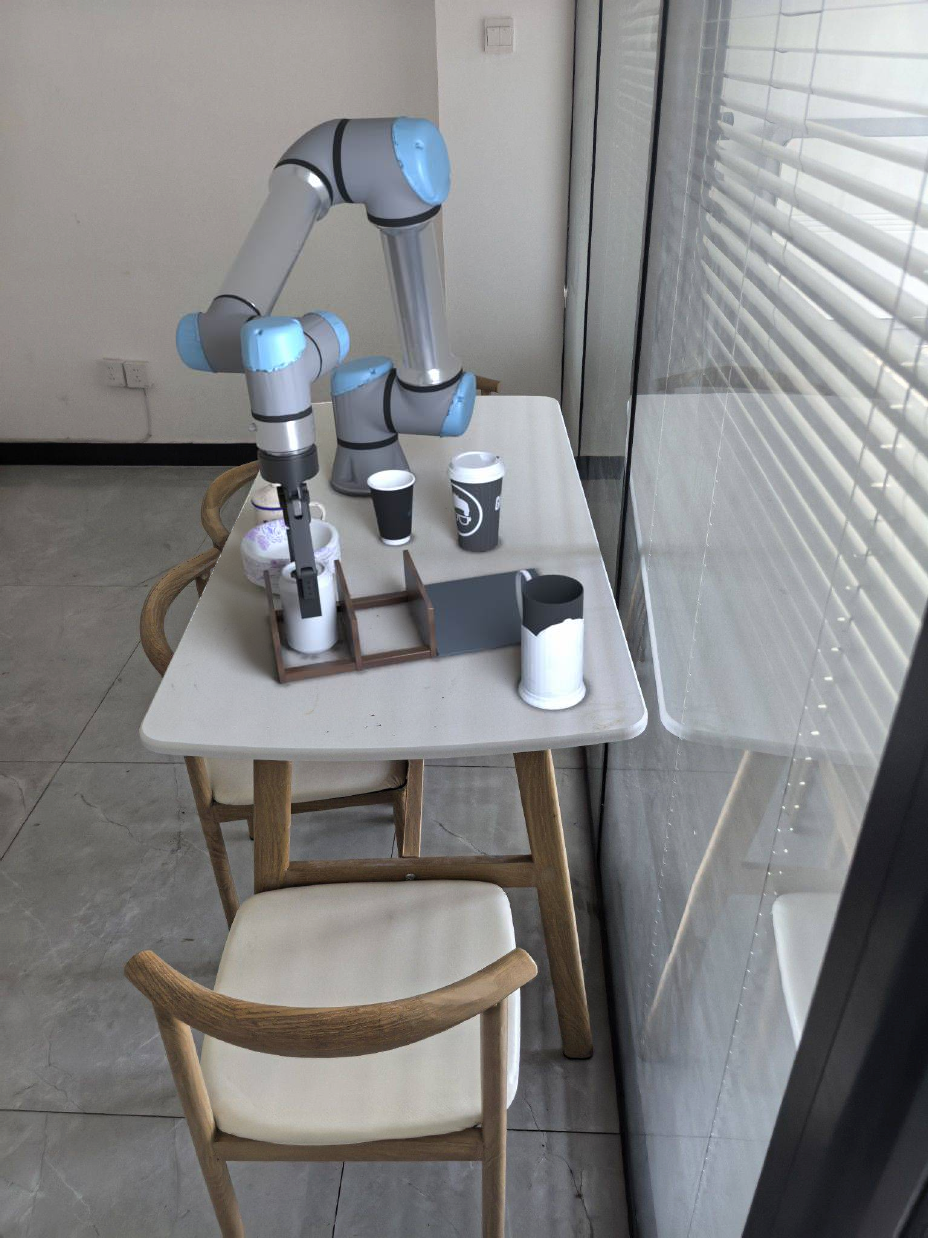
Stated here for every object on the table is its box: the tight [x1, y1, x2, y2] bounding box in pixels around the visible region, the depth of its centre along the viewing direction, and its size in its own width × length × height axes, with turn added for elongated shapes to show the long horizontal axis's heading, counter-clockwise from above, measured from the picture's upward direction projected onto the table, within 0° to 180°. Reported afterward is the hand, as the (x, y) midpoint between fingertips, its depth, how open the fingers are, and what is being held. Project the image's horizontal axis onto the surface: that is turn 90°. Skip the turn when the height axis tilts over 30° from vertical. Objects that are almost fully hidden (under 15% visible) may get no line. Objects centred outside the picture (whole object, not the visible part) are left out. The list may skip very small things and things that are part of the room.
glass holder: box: [516, 569, 587, 711], centre depth 124 cm, size 9×14×15 cm, turn 24°
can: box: [278, 560, 341, 655], centre depth 134 cm, size 8×8×12 cm
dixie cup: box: [367, 470, 416, 546], centre depth 162 cm, size 8×8×11 cm
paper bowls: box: [239, 517, 342, 596], centre depth 151 cm, size 15×15×8 cm
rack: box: [263, 549, 438, 684], centre depth 136 cm, size 18×21×8 cm
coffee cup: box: [446, 449, 507, 553], centre depth 158 cm, size 10×10×15 cm
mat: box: [423, 567, 540, 658], centre depth 143 cm, size 20×20×1 cm
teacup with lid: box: [250, 482, 327, 526], centre depth 162 cm, size 12×9×12 cm
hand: (306, 592), depth 133 cm, fingers open, 13 cm apart
